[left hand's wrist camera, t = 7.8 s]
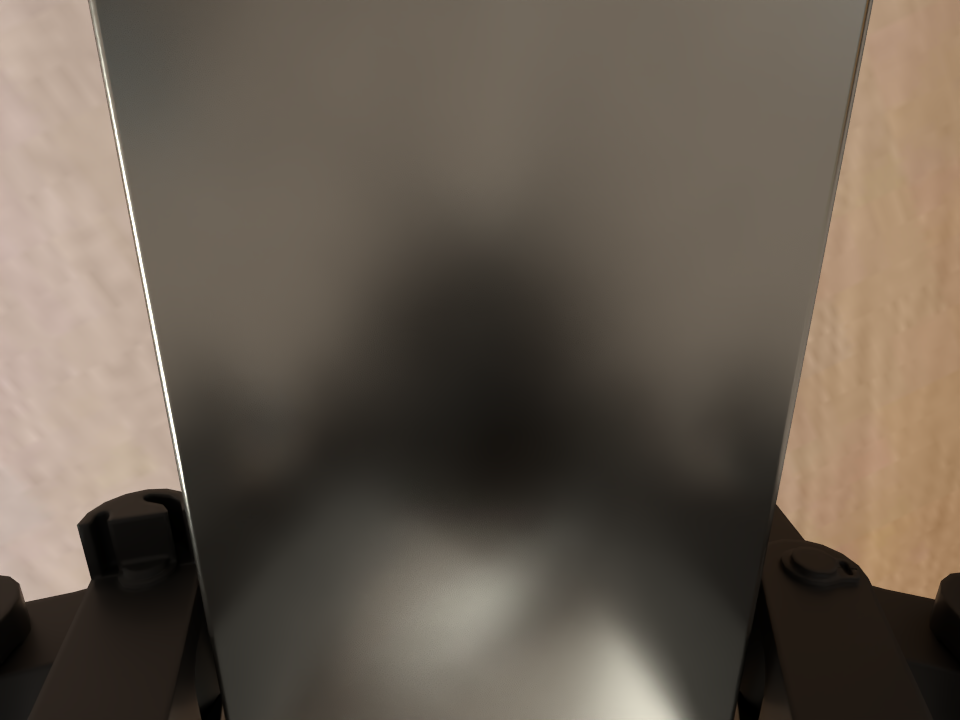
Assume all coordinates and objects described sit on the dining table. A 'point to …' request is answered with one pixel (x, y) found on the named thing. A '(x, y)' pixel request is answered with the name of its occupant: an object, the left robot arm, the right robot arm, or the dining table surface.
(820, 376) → the dining table surface
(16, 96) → the dining table surface
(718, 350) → the bar
